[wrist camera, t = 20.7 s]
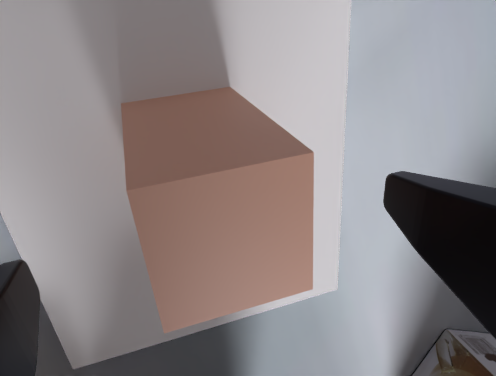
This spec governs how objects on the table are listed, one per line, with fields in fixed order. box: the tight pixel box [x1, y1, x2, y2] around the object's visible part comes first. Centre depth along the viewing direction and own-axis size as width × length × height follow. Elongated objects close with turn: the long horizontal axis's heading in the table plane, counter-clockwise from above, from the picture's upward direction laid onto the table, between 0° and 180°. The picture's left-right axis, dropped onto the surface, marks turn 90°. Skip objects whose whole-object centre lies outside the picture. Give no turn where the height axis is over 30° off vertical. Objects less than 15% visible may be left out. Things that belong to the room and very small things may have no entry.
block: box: [121, 87, 314, 333], centre depth 12 cm, size 4×4×7 cm
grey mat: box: [0, 0, 351, 370], centre depth 15 cm, size 14×20×1 cm
